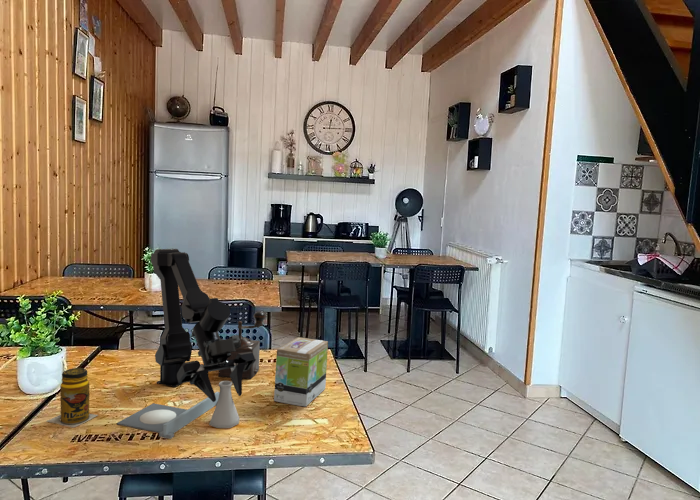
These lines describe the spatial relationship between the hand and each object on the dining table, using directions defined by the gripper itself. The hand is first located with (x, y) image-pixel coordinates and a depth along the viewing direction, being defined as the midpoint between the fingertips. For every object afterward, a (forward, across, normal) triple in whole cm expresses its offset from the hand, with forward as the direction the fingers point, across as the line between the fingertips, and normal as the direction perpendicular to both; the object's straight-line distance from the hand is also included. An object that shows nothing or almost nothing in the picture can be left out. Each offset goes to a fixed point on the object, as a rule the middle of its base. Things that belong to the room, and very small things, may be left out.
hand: (227, 398), depth 122 cm
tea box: (+1, +26, +9) cm, 27 cm away
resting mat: (-4, -12, +14) cm, 19 cm away
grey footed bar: (-1, -5, +10) cm, 11 cm away
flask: (+4, 0, +6) cm, 7 cm away
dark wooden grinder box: (-19, +22, +29) cm, 41 cm away
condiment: (-12, -29, +21) cm, 38 cm away
